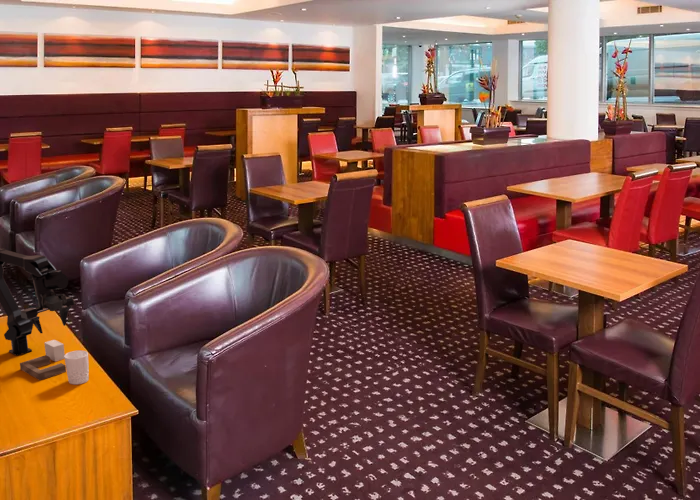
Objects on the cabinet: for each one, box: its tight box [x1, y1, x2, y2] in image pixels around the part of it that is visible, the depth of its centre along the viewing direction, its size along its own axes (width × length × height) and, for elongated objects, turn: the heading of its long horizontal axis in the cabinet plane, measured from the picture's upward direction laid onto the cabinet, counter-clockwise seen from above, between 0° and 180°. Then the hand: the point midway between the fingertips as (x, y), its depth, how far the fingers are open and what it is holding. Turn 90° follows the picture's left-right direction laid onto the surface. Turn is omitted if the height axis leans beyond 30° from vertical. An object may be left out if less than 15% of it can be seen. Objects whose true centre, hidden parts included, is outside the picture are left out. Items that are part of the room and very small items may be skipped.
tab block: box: [44, 339, 66, 363], centre depth 279 cm, size 7×4×6 cm, turn 50°
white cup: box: [64, 350, 90, 385], centre depth 258 cm, size 8×8×10 cm
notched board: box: [19, 354, 67, 381], centre depth 267 cm, size 14×10×2 cm
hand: (53, 329), depth 275 cm, fingers open, 9 cm apart
